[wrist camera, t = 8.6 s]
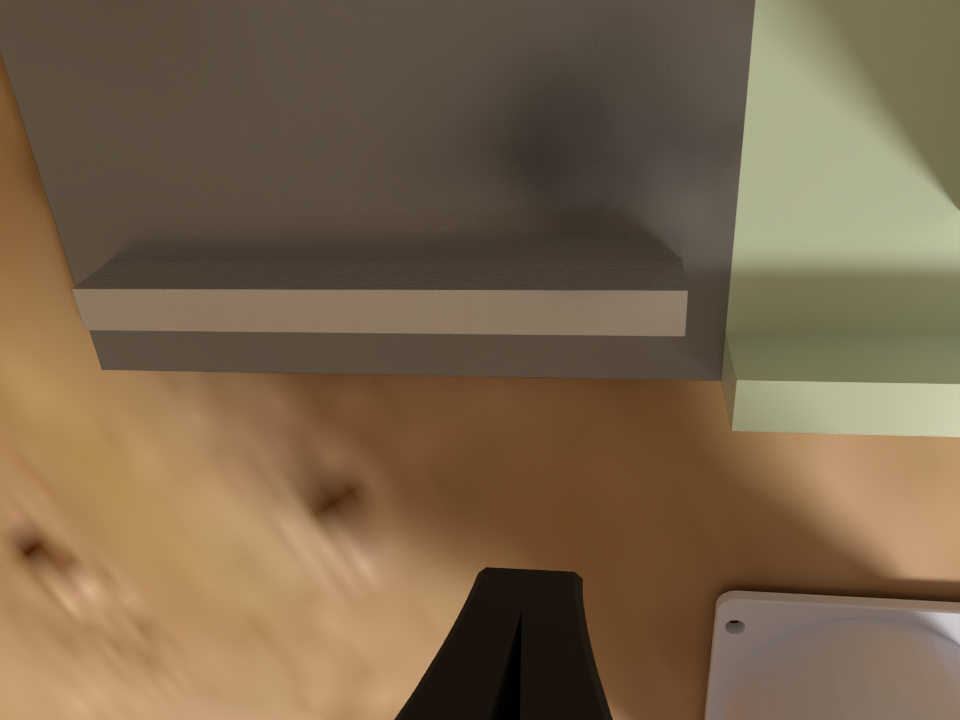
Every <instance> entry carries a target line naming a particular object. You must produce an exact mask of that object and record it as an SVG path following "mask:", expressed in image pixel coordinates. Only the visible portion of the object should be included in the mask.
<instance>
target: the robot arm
mask: <svg viewBox="0 0 960 720" xmlns="http://www.w3.org/2000/svg"><path fill="white" fill-rule="evenodd" d="M732 620H738V621H739V622H738V623H730V622H729V621H732ZM394 720H613V719H612V716H611V713H610V710H609V707H608V704H607V700H606V697H605V694H604V691H603V687H602V684H601V681H600V678H599V674H598V671H597V667H596V663H595V660H594V656H593V652H592V647H591V643H590V638H589V634H588V629H587V624H586V618H585V612H584V604H583V579H582V578H581V577H580V576H579V575H578V574H576V573H575V572H567V571H548V570H528V569H509V568H489V567H486V568H485V569H483V570H482V571H481V572H479V573H478V575H477V578H476V580H475V582H474V585H473V587H472V589H471V591H470V594H469V596H468V598H467V600H466V602H465V604H464V606H463V608H462V610H461V612H460V614H459V616H458V618H457V619H456V621H455V623H454V625H453V627H452V629H451V630H450V632H449V634H448V636H447V638H446V639H445V641H444V643H443V645H442V646H441V648H440V650H439V651H438V653H437V655H436V656H435V658H434V659H433V661H432V663H431V664H430V666H429V668H428V669H427V671H426V673H425V674H424V676H423V677H422V679H421V681H420V682H419V684H418V686H417V687H416V689H415V690H414V692H413V693H412V695H411V696H410V698H409V699H408V701H407V702H406V704H405V705H404V707H403V708H402V709H401V711H400V712H399V714H398V715H397V717H396V718H395V719H394ZM704 720H960V602H941V601H922V600H904V599H885V598H866V597H847V596H828V595H810V594H791V593H772V592H753V591H729V592H726V593H724V594H722V595H721V596H720V597H719V598H718V600H717V602H716V609H715V619H714V629H713V639H712V649H711V658H710V668H709V678H708V688H707V698H706V708H705V718H704Z"/></svg>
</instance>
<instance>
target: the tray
mask: <svg viewBox="0 0 960 720" xmlns="http://www.w3.org/2000/svg"><path fill="white" fill-rule="evenodd" d="M959 209H960V0H755V11H754V22H753V33H752V45H751V56H750V67H749V78H748V89H747V100H746V111H745V123H744V134H743V145H742V156H741V167H740V178H739V189H738V201H737V212H736V223H735V234H734V245H733V256H732V267H731V278H730V290H729V301H728V312H727V323H726V334H725V345H724V356H723V368H722V379H721V382H722V386H723V391H724V396H725V401H726V406H727V410H728V415H729V420H730V425H731V430H732V431H751V432H789V433H827V434H865V435H903V436H942V437H960V211H959Z"/></svg>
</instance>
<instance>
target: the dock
mask: <svg viewBox="0 0 960 720" xmlns="http://www.w3.org/2000/svg"><path fill="white" fill-rule="evenodd" d="M754 11H755V0H0V51H1V54H2V58H3V61H4V64H5V67H6V70H7V73H8V76H9V80H10V83H11V86H12V89H13V92H14V95H15V98H16V102H17V105H18V108H19V111H20V114H21V117H22V120H23V123H24V127H25V130H26V133H27V136H28V139H29V142H30V145H31V149H32V152H33V155H34V158H35V161H36V164H37V167H38V171H39V174H40V177H41V180H42V183H43V186H44V189H45V192H46V196H47V199H48V202H49V205H50V208H51V211H52V214H53V218H54V221H55V224H56V227H57V230H58V233H59V236H60V240H61V243H62V246H63V249H64V252H65V255H66V258H67V261H68V265H69V268H70V271H71V274H72V277H73V280H74V283H75V287H74V288H72V291H73V295H74V298H75V301H76V304H77V307H78V310H79V313H80V316H81V319H82V323H83V326H84V329H85V330H89V331H90V334H91V337H92V340H93V343H94V346H95V349H96V352H97V356H98V359H99V362H100V365H101V368H102V370H148V371H204V372H260V373H317V374H373V375H429V376H485V377H542V378H598V379H654V380H710V381H721V379H722V368H723V356H724V345H725V334H726V323H727V312H728V301H729V290H730V278H731V267H732V256H733V245H734V234H735V223H736V212H737V201H738V189H739V178H740V167H741V156H742V145H743V134H744V123H745V111H746V100H747V89H748V78H749V67H750V56H751V45H752V33H753V22H754Z"/></svg>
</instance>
